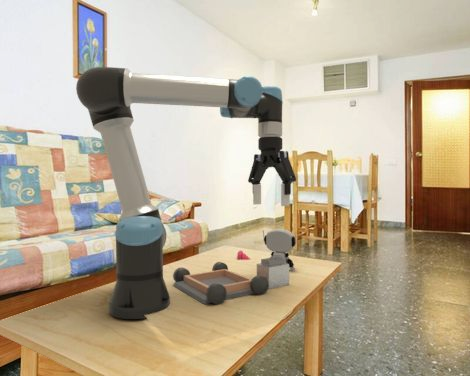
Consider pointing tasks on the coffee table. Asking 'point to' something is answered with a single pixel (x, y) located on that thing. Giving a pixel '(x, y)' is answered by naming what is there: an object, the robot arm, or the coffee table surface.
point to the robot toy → (280, 244)
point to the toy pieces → (242, 256)
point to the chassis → (218, 284)
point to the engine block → (274, 271)
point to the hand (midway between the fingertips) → (270, 205)
